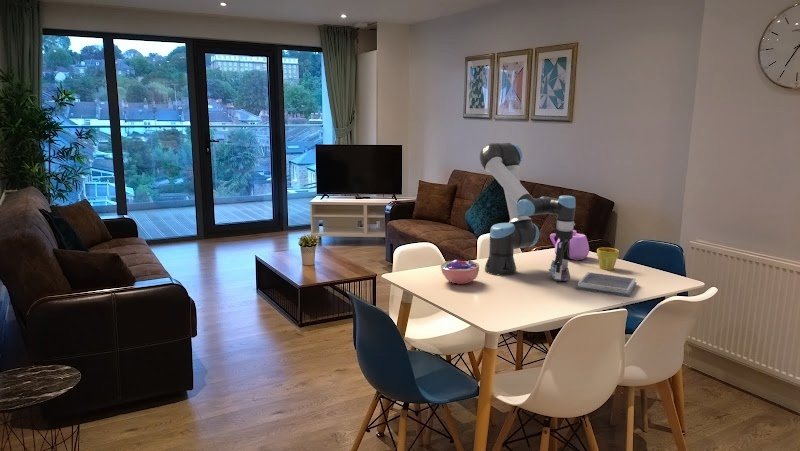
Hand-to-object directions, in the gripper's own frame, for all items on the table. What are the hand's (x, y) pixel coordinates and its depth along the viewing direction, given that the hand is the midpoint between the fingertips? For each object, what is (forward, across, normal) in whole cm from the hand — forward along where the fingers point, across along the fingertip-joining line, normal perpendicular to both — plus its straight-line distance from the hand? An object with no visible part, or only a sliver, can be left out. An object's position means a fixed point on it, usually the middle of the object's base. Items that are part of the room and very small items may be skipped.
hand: (560, 276), depth 262 cm
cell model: (+3, -28, +39) cm, 48 cm away
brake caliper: (+2, 0, +1) cm, 2 cm away
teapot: (+3, +50, +7) cm, 50 cm away
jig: (+2, +1, -20) cm, 21 cm away
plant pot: (+2, +36, -14) cm, 39 cm away
